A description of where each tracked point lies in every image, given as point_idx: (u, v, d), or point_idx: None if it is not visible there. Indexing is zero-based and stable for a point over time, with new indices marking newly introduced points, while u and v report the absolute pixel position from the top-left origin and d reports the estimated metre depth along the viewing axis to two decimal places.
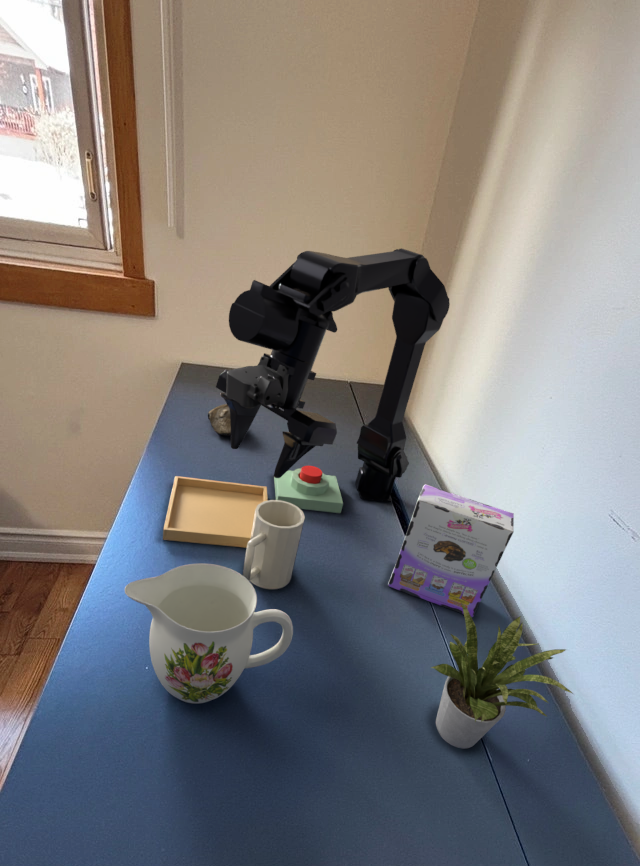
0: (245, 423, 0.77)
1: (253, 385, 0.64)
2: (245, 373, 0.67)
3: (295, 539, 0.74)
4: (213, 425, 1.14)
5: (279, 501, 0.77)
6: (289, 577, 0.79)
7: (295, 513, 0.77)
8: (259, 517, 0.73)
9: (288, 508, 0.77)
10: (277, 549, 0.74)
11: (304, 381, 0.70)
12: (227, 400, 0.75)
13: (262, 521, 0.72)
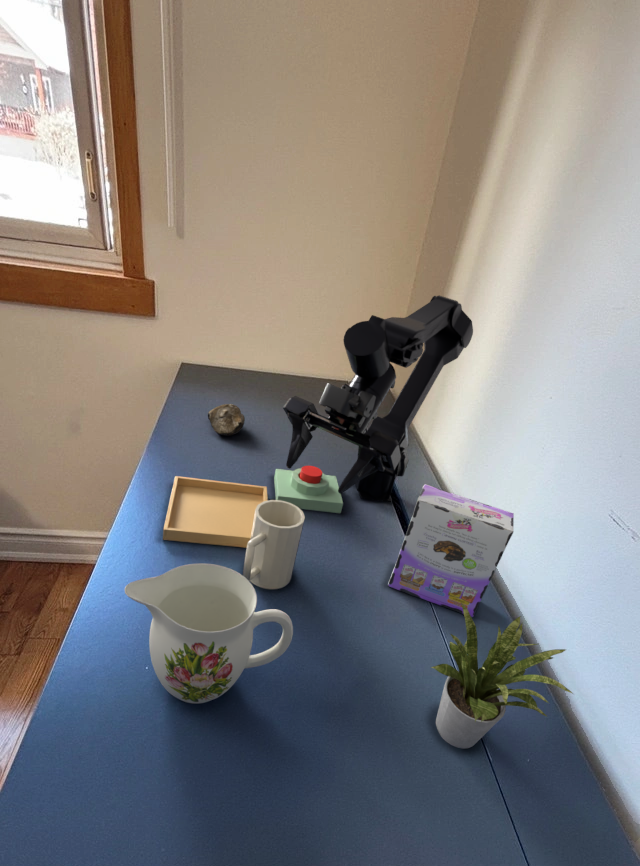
0: (301, 447, 0.82)
1: (356, 395, 0.73)
2: None
3: (295, 539, 0.74)
4: (213, 425, 1.14)
5: (279, 501, 0.77)
6: (289, 577, 0.79)
7: (295, 513, 0.77)
8: (259, 517, 0.73)
9: (288, 508, 0.77)
10: (277, 549, 0.74)
11: (373, 415, 0.81)
12: (296, 419, 0.80)
13: (262, 521, 0.72)
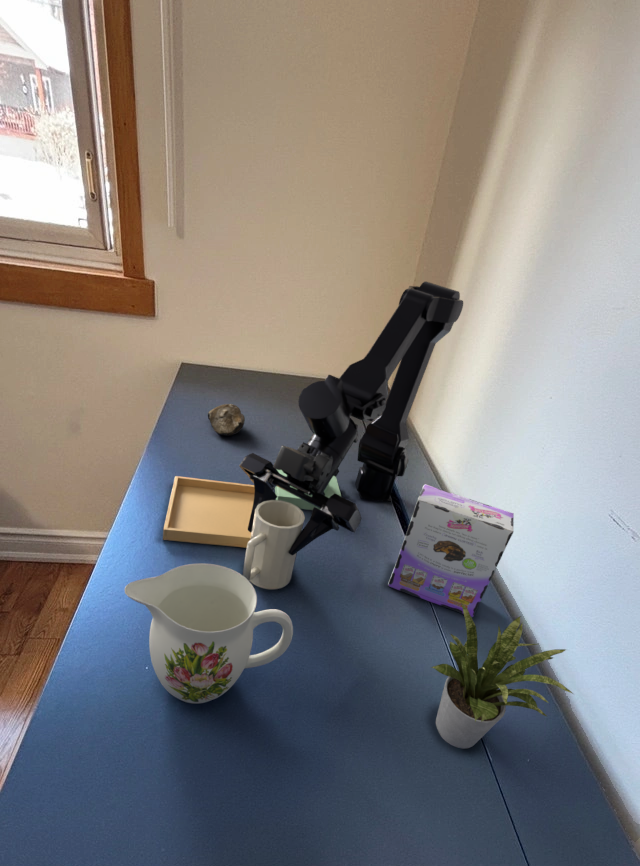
0: None
1: (312, 459, 0.69)
2: (296, 451, 0.72)
3: (295, 539, 0.74)
4: (213, 425, 1.14)
5: (279, 501, 0.77)
6: (289, 577, 0.79)
7: (295, 513, 0.77)
8: (259, 517, 0.73)
9: (288, 508, 0.77)
10: (277, 549, 0.74)
11: (334, 473, 0.77)
12: (258, 482, 0.76)
13: (262, 521, 0.72)
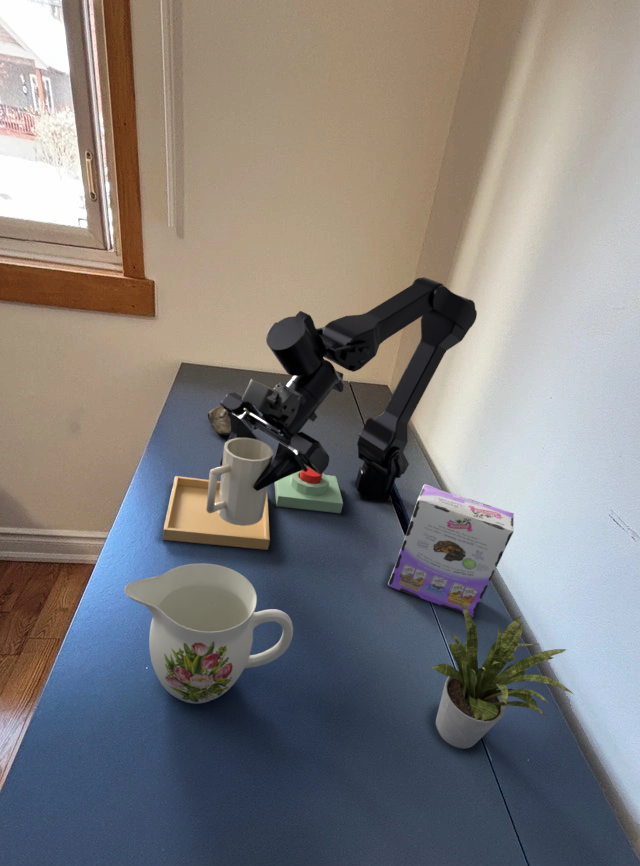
0: None
1: (276, 392, 0.70)
2: (266, 386, 0.73)
3: None
4: (213, 425, 1.14)
5: (253, 439, 0.79)
6: (257, 516, 0.80)
7: (267, 451, 0.78)
8: (226, 449, 0.75)
9: (261, 447, 0.79)
10: (241, 482, 0.75)
11: (308, 416, 0.78)
12: (233, 418, 0.78)
13: (227, 452, 0.74)
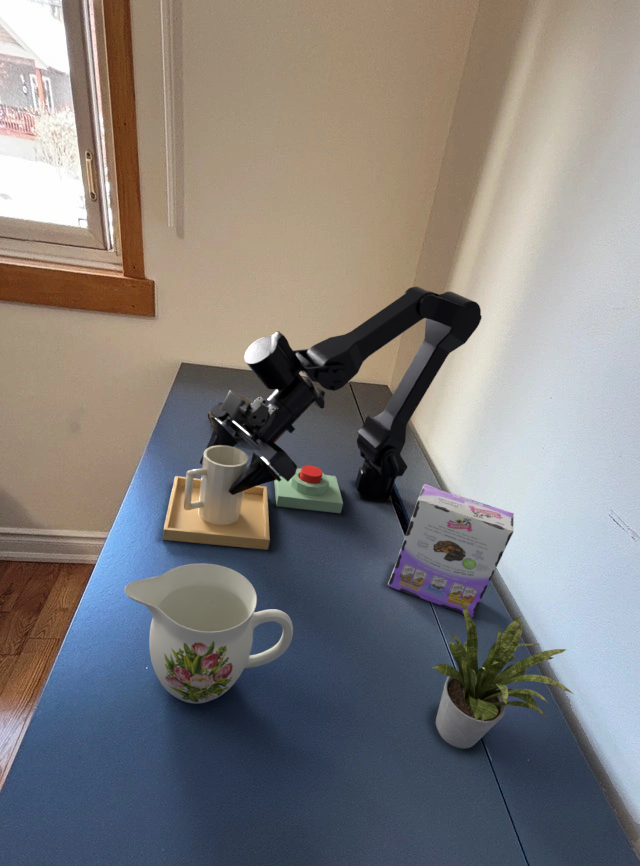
0: None
1: (247, 403, 0.78)
2: (243, 397, 0.81)
3: (233, 479, 0.83)
4: None
5: (233, 448, 0.87)
6: (231, 517, 0.87)
7: (244, 459, 0.86)
8: (204, 454, 0.83)
9: (240, 455, 0.86)
10: (215, 485, 0.83)
11: (284, 428, 0.85)
12: (215, 422, 0.87)
13: (205, 457, 0.82)
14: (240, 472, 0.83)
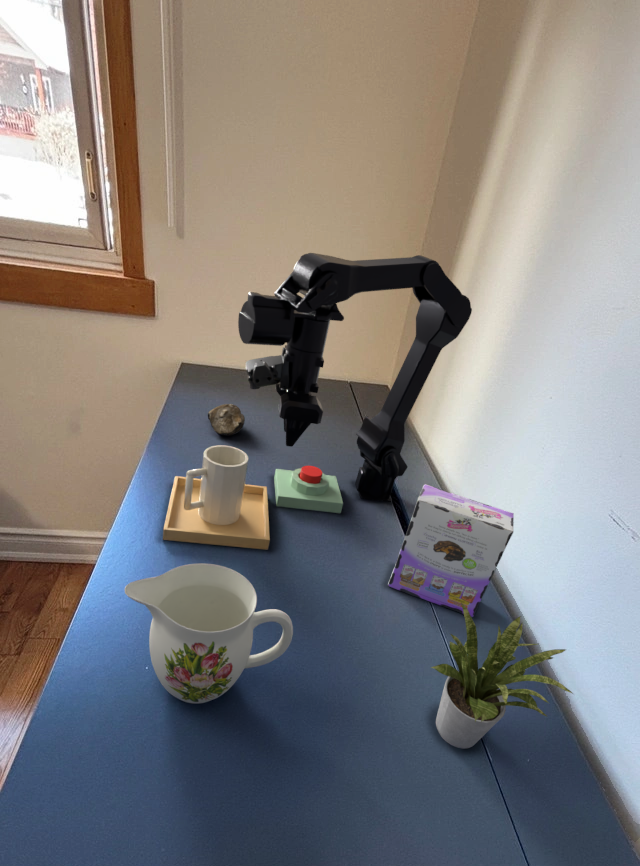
0: None
1: (249, 370, 0.80)
2: (258, 361, 0.83)
3: (233, 479, 0.83)
4: (213, 425, 1.14)
5: (233, 448, 0.87)
6: (231, 517, 0.87)
7: (244, 459, 0.86)
8: (204, 454, 0.83)
9: (240, 455, 0.86)
10: (215, 485, 0.83)
11: (308, 368, 0.81)
12: None
13: (205, 457, 0.82)
14: (240, 472, 0.83)
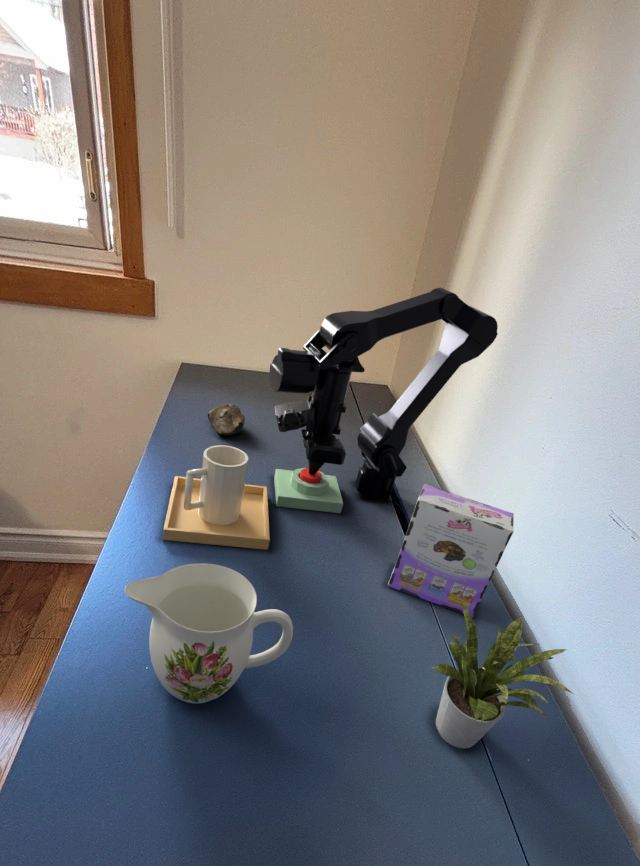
0: None
1: (279, 416, 0.89)
2: (286, 406, 0.92)
3: (233, 479, 0.83)
4: (213, 425, 1.14)
5: (233, 448, 0.87)
6: (231, 517, 0.87)
7: (244, 459, 0.86)
8: (204, 454, 0.83)
9: (240, 455, 0.86)
10: (215, 485, 0.83)
11: (331, 413, 0.90)
12: None
13: (205, 457, 0.82)
14: (240, 472, 0.83)
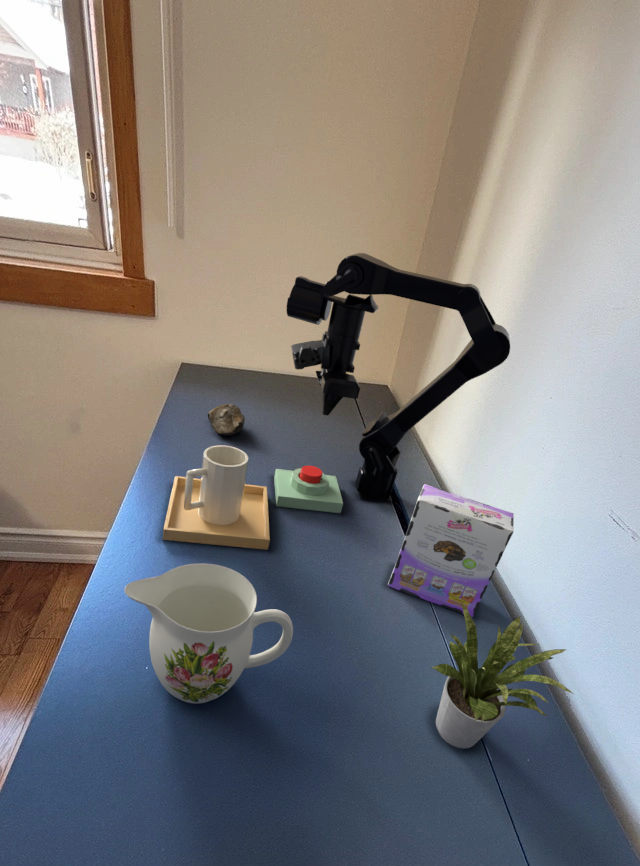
0: None
1: (295, 352, 0.92)
2: (302, 345, 0.95)
3: (233, 479, 0.83)
4: (213, 425, 1.14)
5: (233, 448, 0.87)
6: (231, 517, 0.87)
7: (244, 459, 0.86)
8: (204, 454, 0.83)
9: (240, 455, 0.86)
10: (215, 485, 0.83)
11: (346, 350, 0.93)
12: None
13: (205, 457, 0.82)
14: (240, 472, 0.83)
